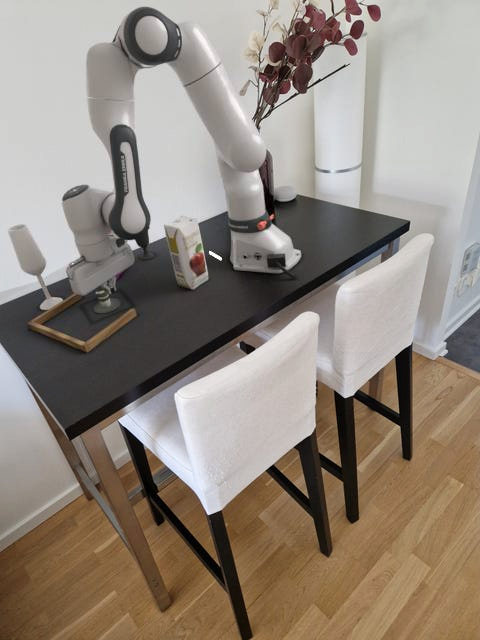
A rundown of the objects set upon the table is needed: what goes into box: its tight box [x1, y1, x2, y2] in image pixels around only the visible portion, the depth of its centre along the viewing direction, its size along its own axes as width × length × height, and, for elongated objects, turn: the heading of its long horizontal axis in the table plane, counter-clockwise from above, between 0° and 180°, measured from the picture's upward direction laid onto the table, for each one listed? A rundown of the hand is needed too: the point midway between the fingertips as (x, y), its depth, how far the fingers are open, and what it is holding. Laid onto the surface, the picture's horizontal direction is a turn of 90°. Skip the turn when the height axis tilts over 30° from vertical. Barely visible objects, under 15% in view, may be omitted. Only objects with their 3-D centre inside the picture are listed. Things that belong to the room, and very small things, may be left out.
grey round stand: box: [93, 288, 122, 315], centre depth 120 cm, size 12×12×5 cm
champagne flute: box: [7, 223, 64, 311], centre depth 120 cm, size 7×7×24 cm
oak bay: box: [26, 293, 138, 354], centre depth 115 cm, size 24×17×2 cm
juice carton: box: [163, 215, 209, 290], centre depth 121 cm, size 8×9×19 cm
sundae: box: [134, 226, 155, 261], centre depth 141 cm, size 7×7×15 cm
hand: (111, 292), depth 122 cm, fingers closed
